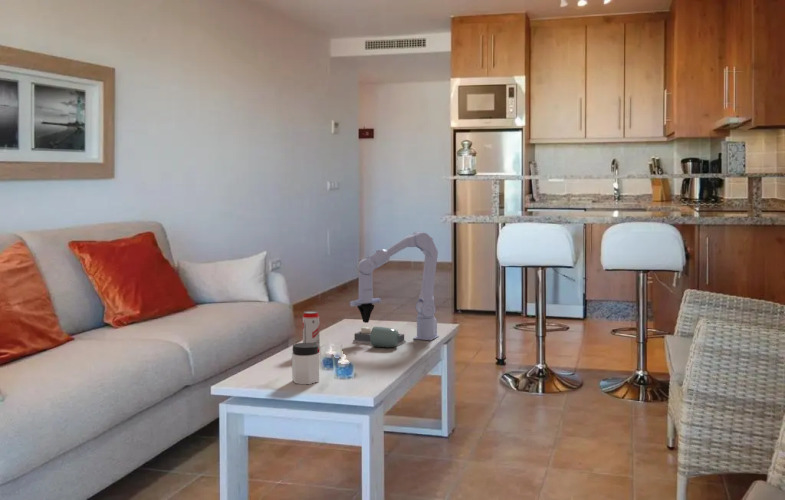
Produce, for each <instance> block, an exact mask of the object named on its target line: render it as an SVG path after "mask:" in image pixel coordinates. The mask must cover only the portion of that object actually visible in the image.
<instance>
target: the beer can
mask: <svg viewBox="0 0 785 500" xmlns="http://www.w3.org/2000/svg"><path fill="white" fill-rule="evenodd" d="M302 343H315V344H317V345H318V354H320V350H321V349H320V348H321V346H320V345H321V344H320V343H321V341H320V314H319V312H318V311H316V310H305V311H303V315H302Z"/></svg>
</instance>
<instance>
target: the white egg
mask: <svg viewBox="0 0 785 500" xmlns="http://www.w3.org/2000/svg"><path fill="white" fill-rule="evenodd" d="M371 330H372V328H371V327H370V326H362V327H360V331H361V334H371Z"/></svg>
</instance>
